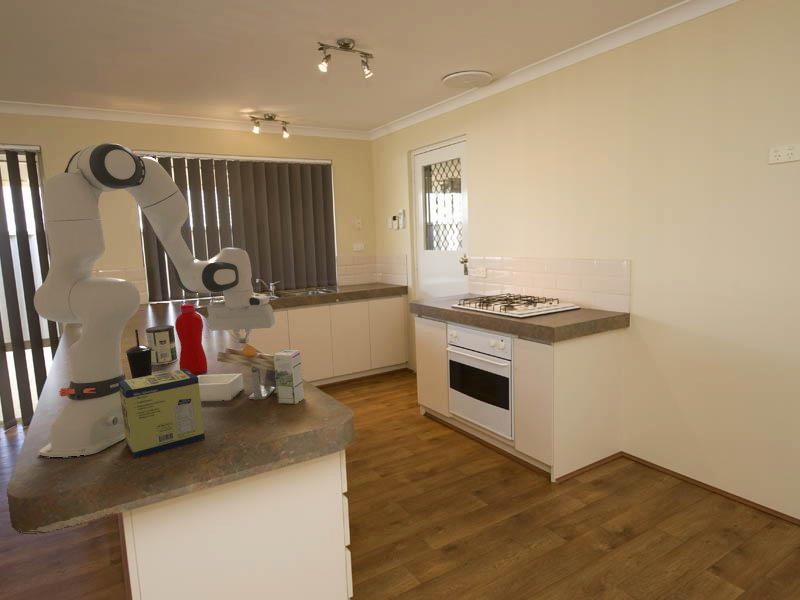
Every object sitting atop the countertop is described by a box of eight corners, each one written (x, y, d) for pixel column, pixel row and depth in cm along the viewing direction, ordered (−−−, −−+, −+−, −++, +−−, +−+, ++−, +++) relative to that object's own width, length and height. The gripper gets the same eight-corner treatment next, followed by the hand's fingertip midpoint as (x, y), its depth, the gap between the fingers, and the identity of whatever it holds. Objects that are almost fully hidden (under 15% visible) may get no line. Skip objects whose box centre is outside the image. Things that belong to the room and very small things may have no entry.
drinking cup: (125, 392, 160) (117, 331, 157) (146, 385, 166) (139, 327, 164) (140, 395, 156) (132, 332, 154) (161, 388, 163) (154, 328, 160)
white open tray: (230, 400, 146) (228, 383, 145) (184, 401, 147) (182, 385, 146) (243, 388, 157) (242, 373, 156) (200, 390, 158) (198, 375, 157)
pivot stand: (265, 399, 145) (262, 366, 144) (248, 399, 146) (245, 367, 144) (276, 387, 157) (274, 356, 156) (261, 387, 157) (258, 357, 156)
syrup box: (304, 398, 144) (300, 349, 143) (295, 405, 139) (291, 354, 137) (287, 397, 146) (283, 349, 144) (276, 404, 140) (272, 354, 138)
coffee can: (167, 357, 208) (164, 324, 206) (183, 360, 202) (179, 325, 200) (144, 363, 199) (140, 329, 197) (159, 366, 194) (155, 330, 192)
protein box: (125, 445, 117) (116, 380, 115) (194, 427, 126) (187, 367, 124) (133, 459, 108) (124, 390, 106) (206, 439, 118) (199, 375, 116)
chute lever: (293, 374, 161) (296, 352, 160) (281, 388, 147) (284, 363, 146) (233, 364, 162) (235, 342, 161) (215, 377, 147) (217, 352, 146)
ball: (252, 361, 148) (253, 348, 147) (239, 360, 148) (240, 347, 148) (257, 358, 152) (257, 345, 151) (244, 357, 152) (245, 344, 151)
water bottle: (213, 372, 179) (206, 304, 176) (180, 377, 175) (172, 307, 172) (212, 366, 188) (205, 301, 185) (181, 371, 184) (173, 304, 181)
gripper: (202, 302, 152) (207, 346, 154) (267, 299, 151) (272, 343, 153) (210, 299, 159) (215, 342, 161) (274, 296, 158) (277, 339, 159)
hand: (243, 342), depth 157 cm, fingers closed
